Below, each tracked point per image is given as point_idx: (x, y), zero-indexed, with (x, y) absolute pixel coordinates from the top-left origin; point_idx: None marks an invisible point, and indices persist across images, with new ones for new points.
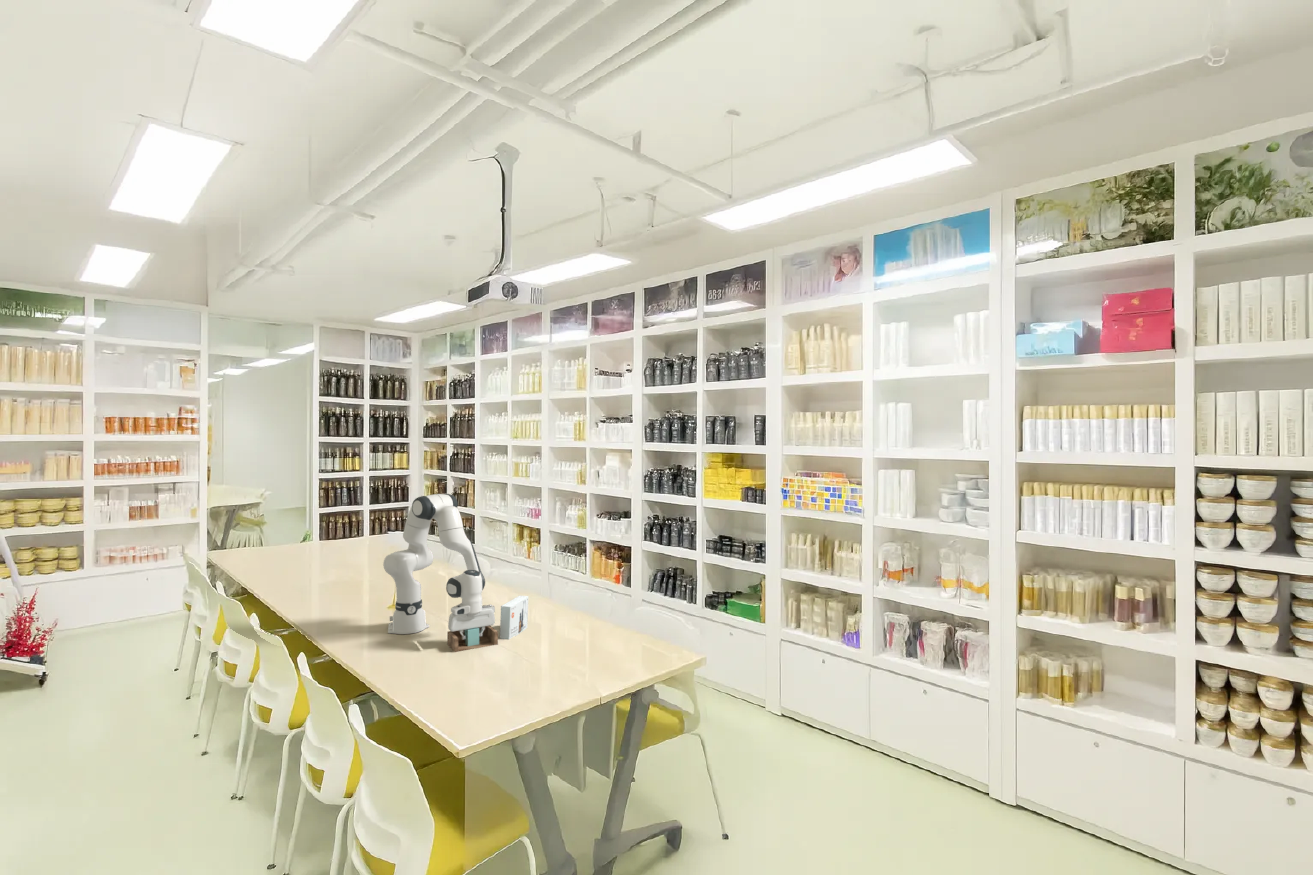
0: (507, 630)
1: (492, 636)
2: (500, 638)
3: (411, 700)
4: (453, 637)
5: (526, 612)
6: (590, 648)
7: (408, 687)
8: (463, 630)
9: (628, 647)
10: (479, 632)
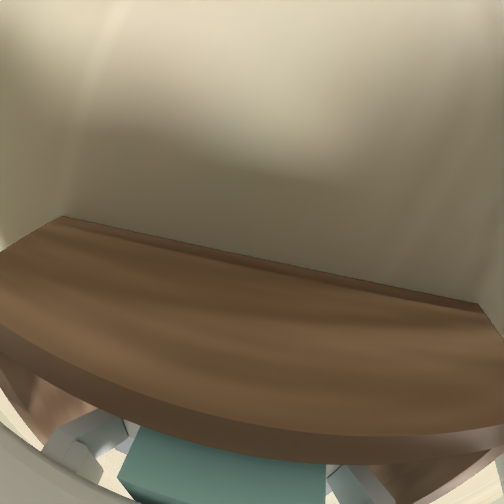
0: (495, 460)
1: (378, 476)
2: None
3: (39, 449)
4: (40, 440)
5: None
6: (466, 496)
7: (19, 422)
8: (121, 408)
9: (487, 495)
10: (332, 465)
